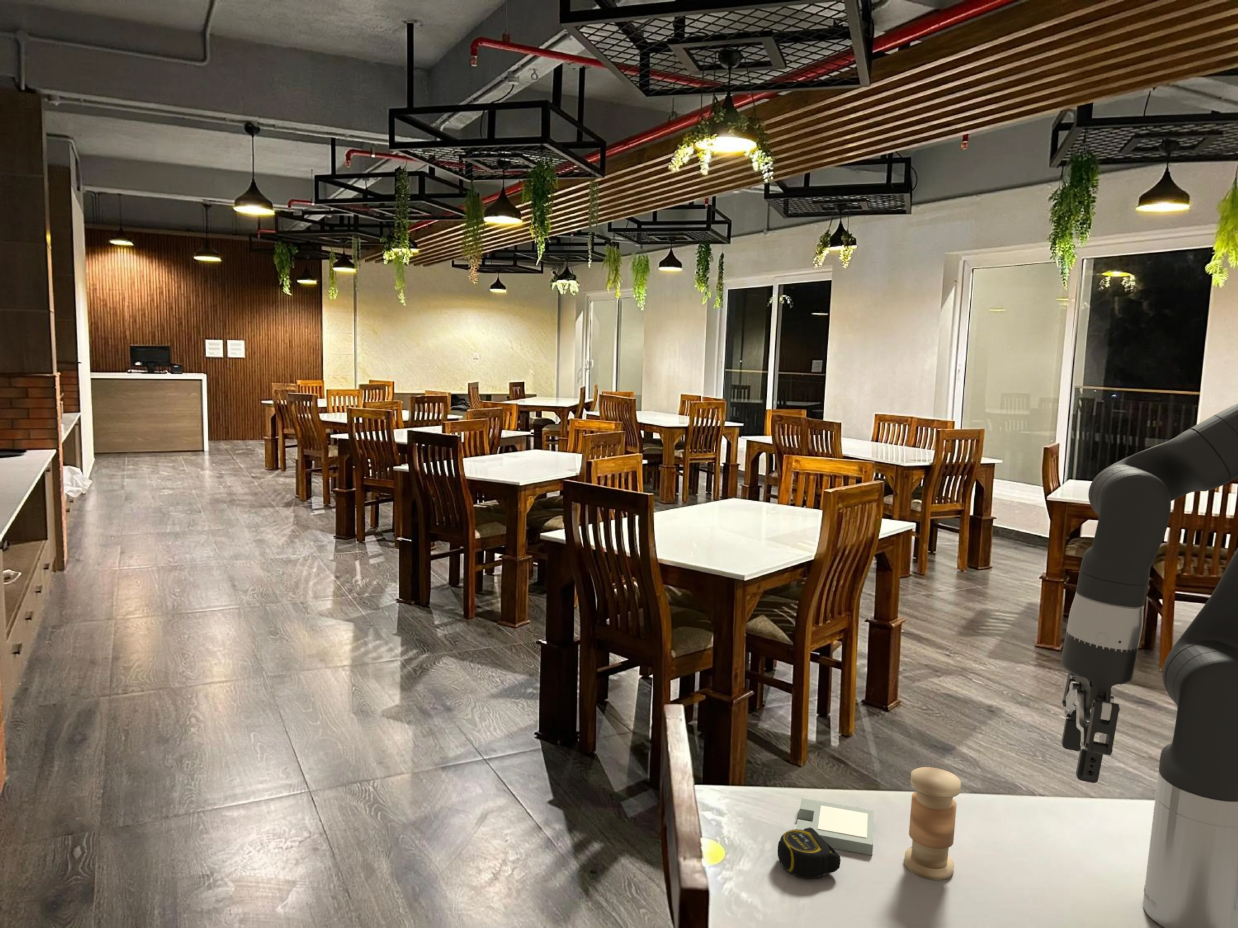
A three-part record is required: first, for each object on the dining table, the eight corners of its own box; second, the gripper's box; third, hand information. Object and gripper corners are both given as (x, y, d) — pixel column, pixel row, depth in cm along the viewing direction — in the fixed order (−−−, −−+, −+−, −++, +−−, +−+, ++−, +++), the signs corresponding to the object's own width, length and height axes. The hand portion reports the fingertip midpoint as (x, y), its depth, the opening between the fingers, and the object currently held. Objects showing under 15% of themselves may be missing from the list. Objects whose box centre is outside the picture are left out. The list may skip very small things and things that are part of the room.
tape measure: (842, 879, 109) (844, 851, 109) (793, 887, 107) (795, 859, 106) (813, 849, 115) (815, 822, 115) (767, 856, 113) (769, 829, 113)
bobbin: (951, 857, 114) (959, 771, 113) (955, 884, 108) (963, 793, 107) (903, 848, 116) (910, 763, 114) (904, 874, 110) (911, 785, 109)
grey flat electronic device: (872, 820, 123) (873, 809, 122) (872, 855, 114) (873, 843, 114) (801, 807, 126) (801, 797, 125) (795, 840, 117) (795, 829, 117)
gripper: (1156, 661, 94) (1128, 800, 97) (1122, 623, 108) (1098, 745, 110) (1080, 648, 96) (1055, 784, 99) (1056, 612, 110) (1034, 732, 112)
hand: (1078, 763), depth 104 cm, fingers open, 8 cm apart
